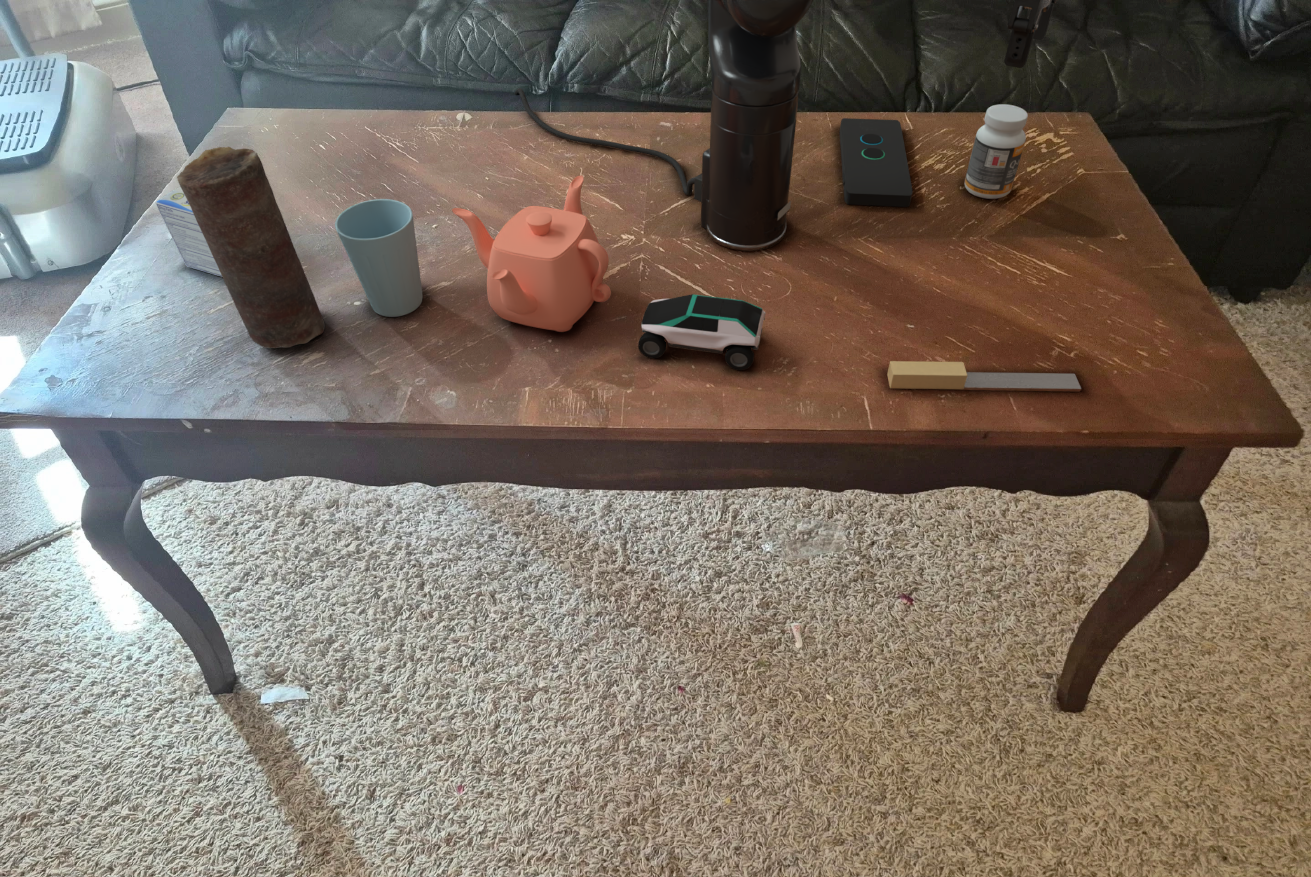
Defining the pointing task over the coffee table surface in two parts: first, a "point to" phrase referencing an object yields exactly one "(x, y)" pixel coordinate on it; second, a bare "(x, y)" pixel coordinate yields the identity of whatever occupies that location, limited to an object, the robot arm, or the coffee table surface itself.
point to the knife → (973, 378)
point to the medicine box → (186, 232)
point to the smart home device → (874, 163)
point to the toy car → (703, 327)
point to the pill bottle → (997, 152)
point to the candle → (251, 246)
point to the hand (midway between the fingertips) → (1024, 51)
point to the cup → (383, 254)
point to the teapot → (542, 264)
